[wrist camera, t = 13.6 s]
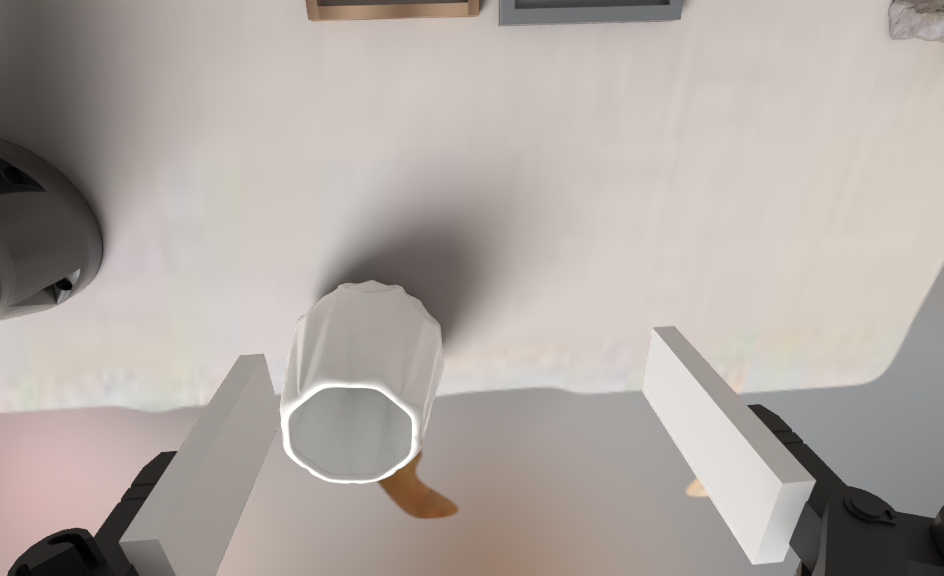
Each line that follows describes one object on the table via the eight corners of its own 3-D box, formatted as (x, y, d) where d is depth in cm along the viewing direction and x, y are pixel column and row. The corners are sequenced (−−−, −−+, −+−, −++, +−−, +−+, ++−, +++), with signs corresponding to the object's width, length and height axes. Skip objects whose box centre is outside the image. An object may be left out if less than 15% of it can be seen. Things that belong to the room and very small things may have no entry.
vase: (447, 271, 46) (454, 360, 32) (438, 387, 52) (441, 504, 38) (298, 263, 44) (239, 353, 31) (307, 384, 50) (261, 504, 37)
